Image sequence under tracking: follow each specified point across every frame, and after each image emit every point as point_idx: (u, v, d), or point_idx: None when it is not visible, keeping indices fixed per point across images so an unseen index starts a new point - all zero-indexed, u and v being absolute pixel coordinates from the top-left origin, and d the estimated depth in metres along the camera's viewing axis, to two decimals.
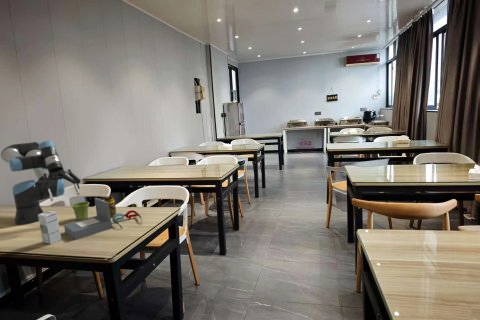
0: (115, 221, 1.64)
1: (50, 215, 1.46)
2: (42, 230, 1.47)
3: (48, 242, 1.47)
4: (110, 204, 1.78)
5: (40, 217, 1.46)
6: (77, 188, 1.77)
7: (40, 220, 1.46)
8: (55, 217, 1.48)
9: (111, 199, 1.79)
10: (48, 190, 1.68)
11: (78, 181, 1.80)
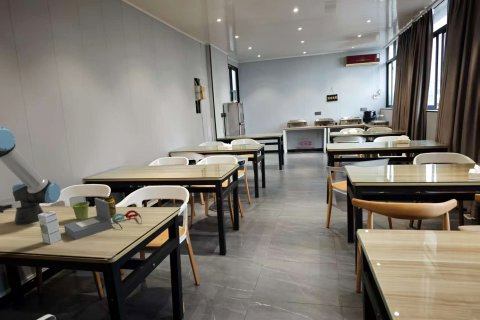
0: (115, 221, 1.64)
1: (50, 215, 1.46)
2: (42, 230, 1.47)
3: (48, 242, 1.47)
4: (110, 204, 1.78)
5: (40, 217, 1.46)
6: (13, 208, 1.37)
7: (40, 220, 1.46)
8: (55, 217, 1.48)
9: (111, 199, 1.79)
10: (0, 204, 1.45)
11: None
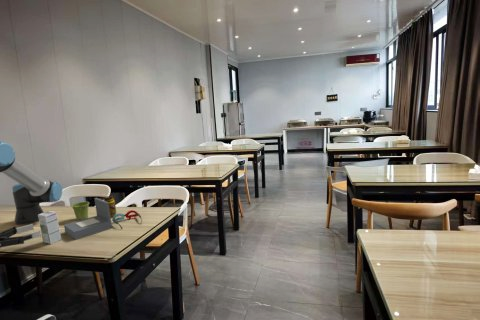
0: (115, 221, 1.64)
1: (50, 215, 1.46)
2: (42, 230, 1.47)
3: (48, 242, 1.47)
4: (110, 204, 1.78)
5: (40, 217, 1.46)
6: (32, 238, 1.38)
7: (40, 220, 1.46)
8: (55, 217, 1.48)
9: (111, 199, 1.79)
10: (19, 232, 1.46)
11: None
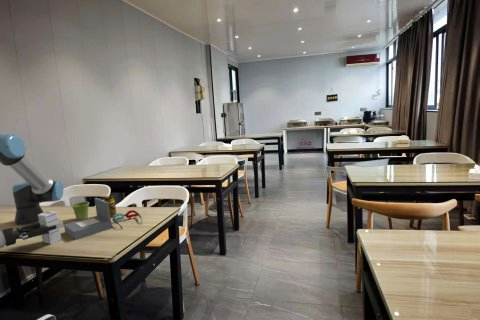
0: (115, 221, 1.64)
1: (50, 215, 1.46)
2: None
3: (48, 242, 1.47)
4: (110, 204, 1.78)
5: (40, 217, 1.46)
6: None
7: (40, 220, 1.46)
8: (55, 217, 1.48)
9: (111, 199, 1.79)
10: None
11: None
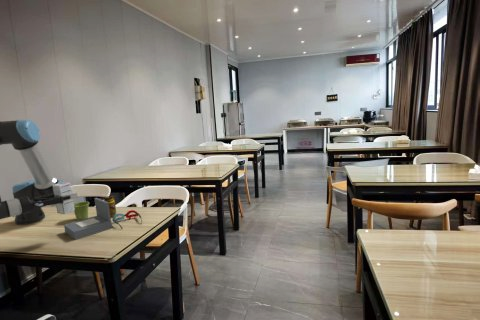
0: (115, 221, 1.64)
1: (64, 185, 1.49)
2: None
3: (62, 212, 1.49)
4: (110, 204, 1.78)
5: (55, 187, 1.48)
6: (70, 199, 1.50)
7: (54, 190, 1.49)
8: (69, 188, 1.51)
9: (111, 199, 1.79)
10: None
11: None
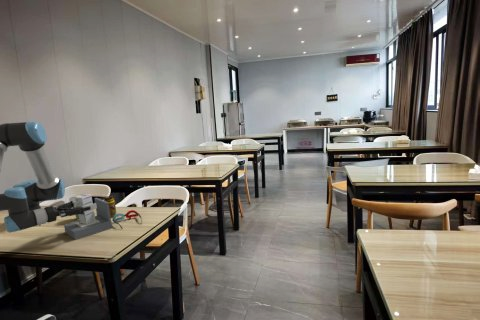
0: (115, 221, 1.64)
1: (86, 197, 1.57)
2: None
3: (84, 222, 1.58)
4: (110, 204, 1.78)
5: (77, 199, 1.57)
6: None
7: (77, 201, 1.57)
8: (90, 199, 1.59)
9: (111, 199, 1.79)
10: (75, 206, 1.63)
11: None
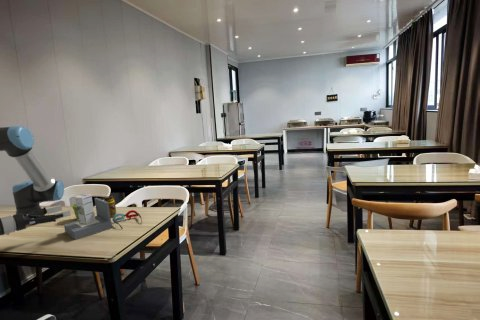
0: (115, 221, 1.64)
1: (86, 197, 1.57)
2: (79, 211, 1.58)
3: (84, 222, 1.58)
4: (110, 204, 1.78)
5: (77, 199, 1.57)
6: (63, 217, 1.47)
7: (77, 201, 1.57)
8: (90, 199, 1.59)
9: (111, 199, 1.79)
10: None
11: None
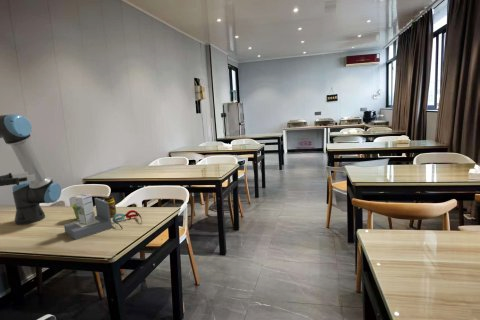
0: (115, 221, 1.64)
1: (86, 197, 1.57)
2: (79, 211, 1.58)
3: (84, 222, 1.58)
4: (110, 204, 1.78)
5: (77, 199, 1.57)
6: (27, 181, 1.44)
7: (77, 201, 1.57)
8: (90, 199, 1.59)
9: (111, 199, 1.79)
10: None
11: None
